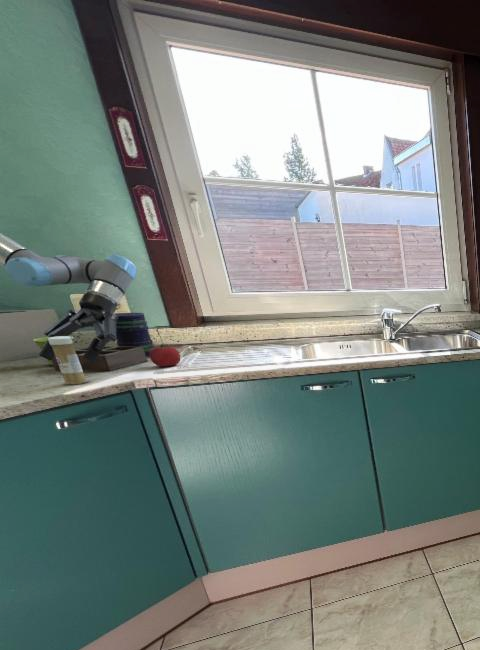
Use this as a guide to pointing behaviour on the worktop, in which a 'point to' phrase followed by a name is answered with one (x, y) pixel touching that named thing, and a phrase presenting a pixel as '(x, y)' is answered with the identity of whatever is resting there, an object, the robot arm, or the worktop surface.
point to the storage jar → (133, 331)
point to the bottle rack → (109, 358)
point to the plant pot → (41, 343)
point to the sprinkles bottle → (67, 359)
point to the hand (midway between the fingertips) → (66, 358)
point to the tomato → (164, 356)
